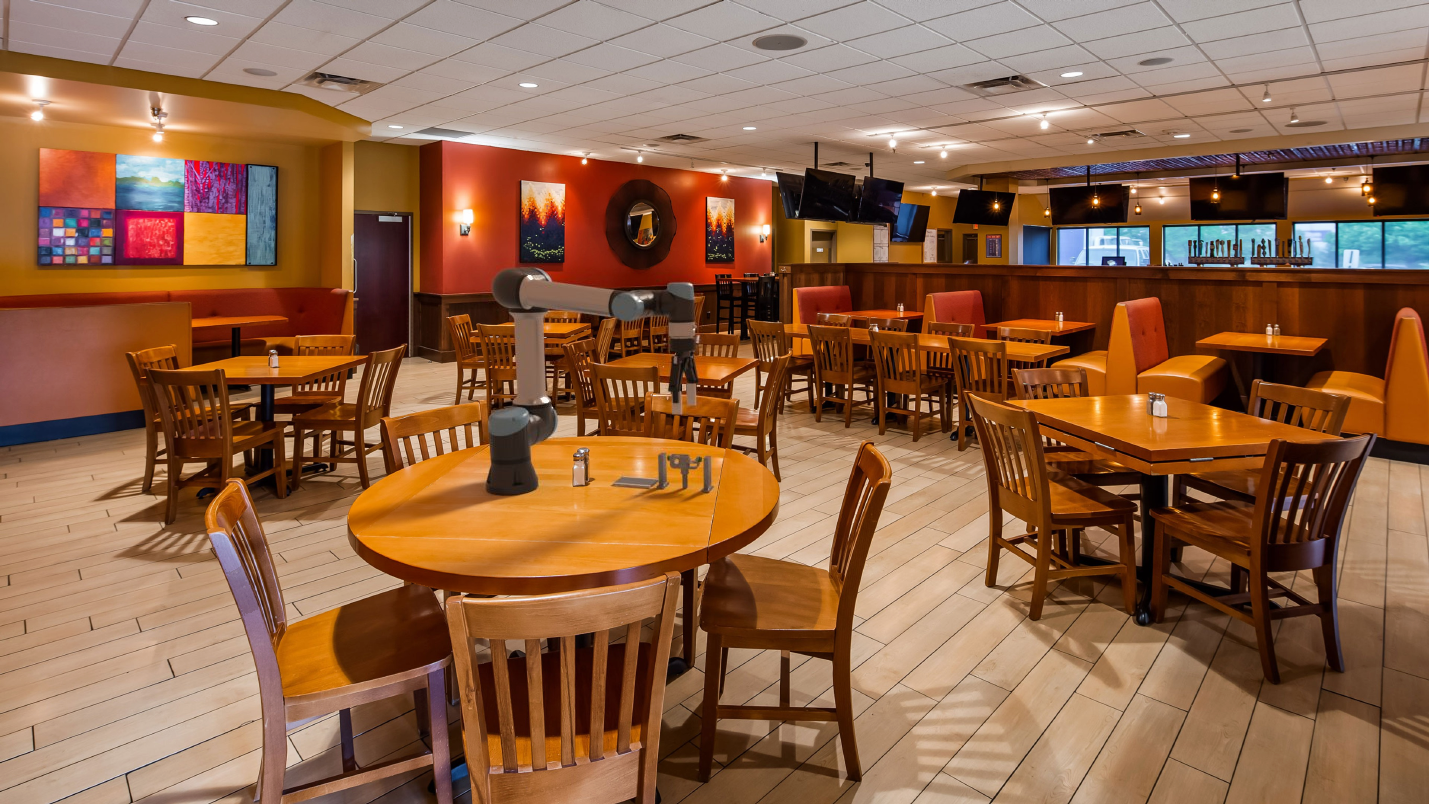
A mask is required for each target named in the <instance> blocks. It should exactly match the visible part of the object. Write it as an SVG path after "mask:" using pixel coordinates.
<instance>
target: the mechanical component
mask: <svg viewBox="0 0 1429 804" xmlns="http://www.w3.org/2000/svg"><path fill="white" fill-rule="evenodd" d="M676 460H677V461H676ZM666 462H669V467H670V468H671V469H677V470H678V469H679V470H680V474H681V475H682V477H681V478H682V479H681V480H682V482H681V483H682V484H681V485H682V490H683V489H685V490H686V489H688V487H689V485H688V484H689V483H688V479H689V478H688V475H689V474H690V470H697V469H698V468H699V466H700V464H701V463H703V457H702V456H700V455H696V457H695V459H693V460H692V458H691V457H690V455H689V454H687V453H685V454H683V453H682V454H681V453H670V454H668V455H666ZM693 464H695V465H693Z"/></svg>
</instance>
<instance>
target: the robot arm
mask: <svg viewBox="0 0 1429 804" xmlns="http://www.w3.org/2000/svg"><path fill="white" fill-rule="evenodd" d="M491 282H492V283H491V293H492V294H491V295H493V298H494V300H495V301H496V303H498V304H500V305H501V306H503V307H504V308H507V309H508V314H509V315H510V316H512V318H513V319H514V323H513V324H514V338H515V339H514V342H515V344H514V345H515V348H514V349H515V365H516V368H515V369H516V389H517V390H516V391H517V395H516V397H515V398H514V399H513V400H512V407H511V406H510V407H505V408H500V409H497V410H495V411H493V412H492V413H491V414H490V415H489V417H488V424H487V431H488V440H489V441H488V442H489V452H490V453H489V454H490V455H489V457H490V467H489V470H488V474H487V476H486V480H485V489H486V492H487V493H490V494H493V495H500V496H509V495H511V496H513V495H520V494H521V495H522V494H525V493H529V492H532V491H535V490H537V488H538V487H539V477H538V476H537V475H538V474H537V473H536V470H535V467H534V465H533V462H532V451H531V447H533V446H535V445H537V444H539V443H542V442H544V441H546V440H547V439H548V438H550V437H552V436H553V434H554V433H555V431H556V430H557V428H558V423H559V422H558V421H559V418H558V414H557V411H556V410H555V408H554V407H553V406H552V400H551V398H550V397H549V396H548V395H547V393H546V390H547V387H546V366H545V365H546V363H545V339H544V338H545V337H544V336H545V335H544V334H545V333H544V331H545V330H544V317H545V316H546V315H547V314H548V313H549V309H551V310H557V311H565V312H573V313H578V314H579V313H580V314H588V315H595V316H601V317H609V318H614V319H615V318H616V319H618V320H620V321H623V322H634V321H636V320H640V319H642V318H649V317H668V336H669V337H670V338H669V342H668V343H669V350H670V351H671V352H675V356H673V355H672V356H670V357H671V358H670V359H671V360H670V361H671V362H670V365H671V366H670V371H669V379H668V380H669V381H668V388H667V392H670V393H671V413H672V414H671V415H683V401H682V400H683V399H682V397H683V396H682V391H681V388H682V383H683V378H684V376H685V380H686V381H687V383H686V385H685V387H686V388H685V389H686V405H687V406H697V384H699V382H700V380H699V376H698V371H697V366H696V360H695V350H696V345H697V344H696V338H695V337H694V336H696V329H697V327H698V326H697V325H696V322H695V321H696V320H695V318H696V317H695V311H696V310H695V301H696V298H695V293H694V292H695V291H694V285H693V283H691V282H669V283H667V285H666V286H667V288H666V289H662V290H661V289H659V290H657V289H656V290H654V289H637V290H631V291H624V290H617V289H616V290H615V289H610V288H601V287H594V286H585V285H580V284H572V283H564V282H557V281H553V280H552V277H550V275H549V274H548V273H547V272H546V271H544V270H543V269H541V268H538V267H532V266H531V267H530V266H524V267H510V268H509V267H508V268H505V269H502V270H500V271H499V272H497V274H496V275H495V276H494V278H493V280H492V281H491Z"/></svg>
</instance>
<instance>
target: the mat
mask: <svg viewBox="0 0 1429 804" xmlns="http://www.w3.org/2000/svg"><path fill="white" fill-rule="evenodd" d="M657 483H659V478H653V477H641V476H640V477H639V476H628V475H627V476H626V475H625V476H624V475H622V476H621V477H619V478H618V479H617V480H615V481H614V482H612V486H617V487H628V488H629V487H631V488H642V489H652V487H653V486H654V485H656V484H657Z"/></svg>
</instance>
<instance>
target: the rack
mask: <svg viewBox="0 0 1429 804" xmlns="http://www.w3.org/2000/svg"><path fill="white" fill-rule="evenodd" d="M657 460H658V461H657V462H658V463H657V464H658V465H657V466H658V467H657V469H658V471H657V472H658V475H657V476H658V479H659V481H658V484H657V485H656V486H655V489H660V490H664V489H666V488H667V487H668V486H669V485H670V482H668V481H667V479H668V478H667V475H668V474H667V471H668V470H667V469H668V468H667V452H660V453H659V454H658V455H657ZM702 463H703V466H702V467H703V468H702V469H703V488H701V489H700V491H701V493H710V492H711V491H712V490H713V489H714V488H715V485H712V455H705V456H704V457H702Z"/></svg>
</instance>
